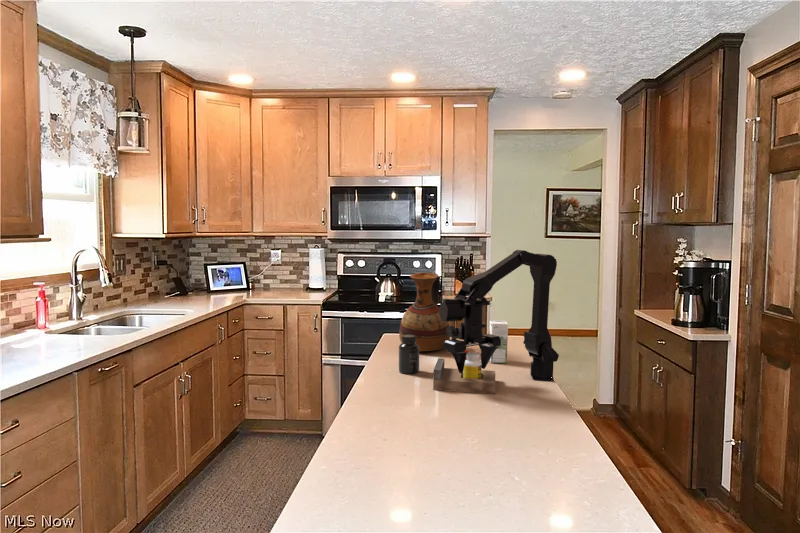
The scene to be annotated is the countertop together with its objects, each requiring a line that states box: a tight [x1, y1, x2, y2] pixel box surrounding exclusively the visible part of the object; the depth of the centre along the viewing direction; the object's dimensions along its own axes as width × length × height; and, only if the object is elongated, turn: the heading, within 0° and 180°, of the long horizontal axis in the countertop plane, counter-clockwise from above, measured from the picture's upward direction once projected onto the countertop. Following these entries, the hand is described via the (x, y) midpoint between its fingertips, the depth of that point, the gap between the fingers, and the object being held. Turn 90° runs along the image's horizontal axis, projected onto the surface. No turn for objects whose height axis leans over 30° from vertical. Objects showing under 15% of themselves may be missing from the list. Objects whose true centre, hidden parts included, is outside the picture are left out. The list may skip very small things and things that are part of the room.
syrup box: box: [488, 320, 509, 364], centre depth 198 cm, size 6×6×14 cm
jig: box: [432, 357, 496, 395], centre depth 170 cm, size 18×14×6 cm
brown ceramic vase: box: [398, 271, 451, 352], centre depth 216 cm, size 20×20×30 cm
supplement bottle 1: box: [398, 335, 420, 375], centre depth 183 cm, size 7×7×12 cm
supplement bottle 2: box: [463, 351, 482, 379], centre depth 169 cm, size 5×5×10 cm
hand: (472, 370), depth 169 cm, fingers open, 9 cm apart
